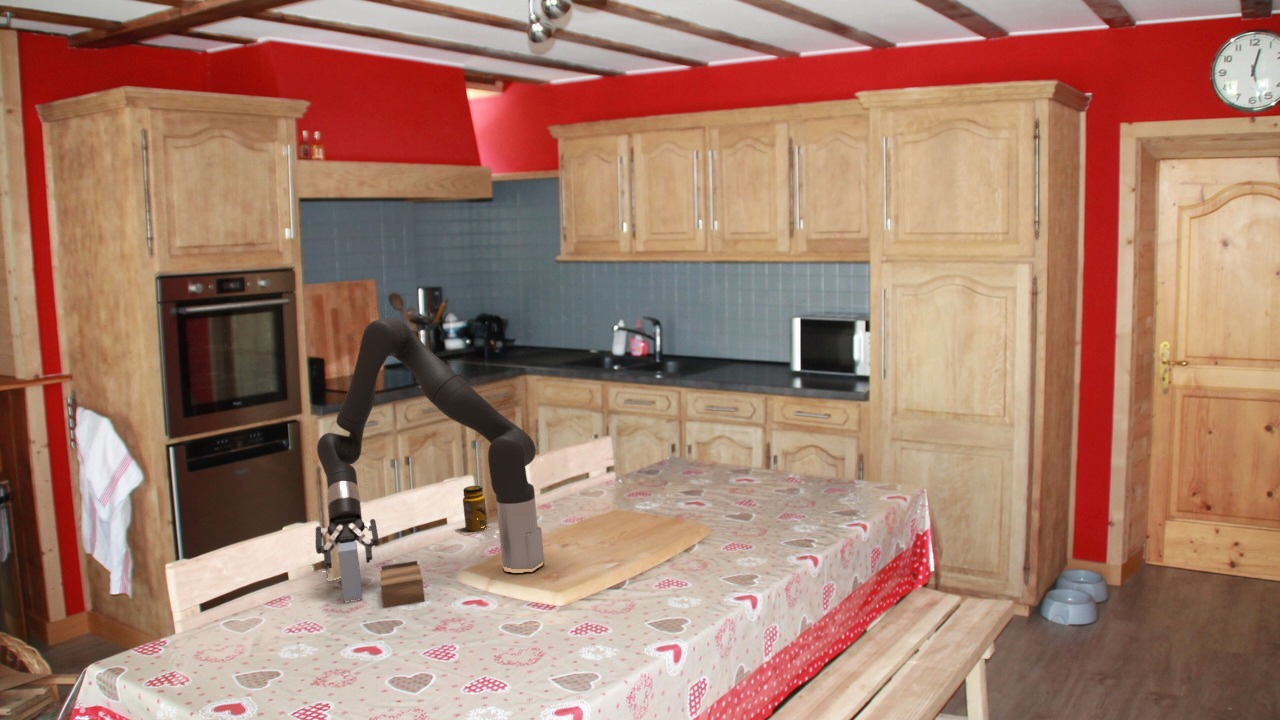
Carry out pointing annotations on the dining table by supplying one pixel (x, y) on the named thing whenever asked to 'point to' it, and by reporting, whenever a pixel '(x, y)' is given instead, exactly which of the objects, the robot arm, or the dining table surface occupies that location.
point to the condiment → (474, 511)
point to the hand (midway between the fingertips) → (349, 563)
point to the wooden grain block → (401, 584)
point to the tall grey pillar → (350, 571)
